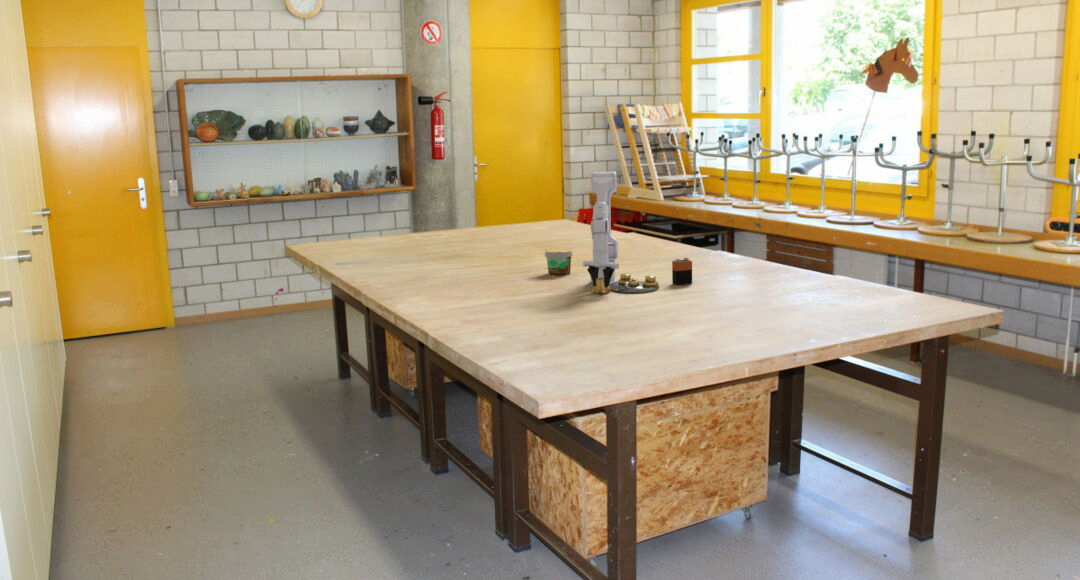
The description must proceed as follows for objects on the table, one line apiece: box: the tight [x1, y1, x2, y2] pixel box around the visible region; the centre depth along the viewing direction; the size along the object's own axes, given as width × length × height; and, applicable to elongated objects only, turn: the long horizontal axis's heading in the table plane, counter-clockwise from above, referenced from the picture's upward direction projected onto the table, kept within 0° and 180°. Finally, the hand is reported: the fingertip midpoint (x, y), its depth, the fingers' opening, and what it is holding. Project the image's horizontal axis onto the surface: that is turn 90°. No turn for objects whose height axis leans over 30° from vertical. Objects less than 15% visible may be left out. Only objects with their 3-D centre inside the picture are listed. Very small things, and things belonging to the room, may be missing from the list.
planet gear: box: [592, 278, 611, 294], centre depth 339 cm, size 7×7×5 cm
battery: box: [671, 257, 693, 286], centre depth 349 cm, size 4×7×10 cm, turn 104°
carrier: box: [609, 273, 660, 295], centre depth 344 cm, size 19×19×4 cm
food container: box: [544, 250, 573, 277], centre depth 377 cm, size 12×6×10 cm, turn 68°
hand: (601, 286), depth 339 cm, fingers closed on planet gear, 4 cm apart
